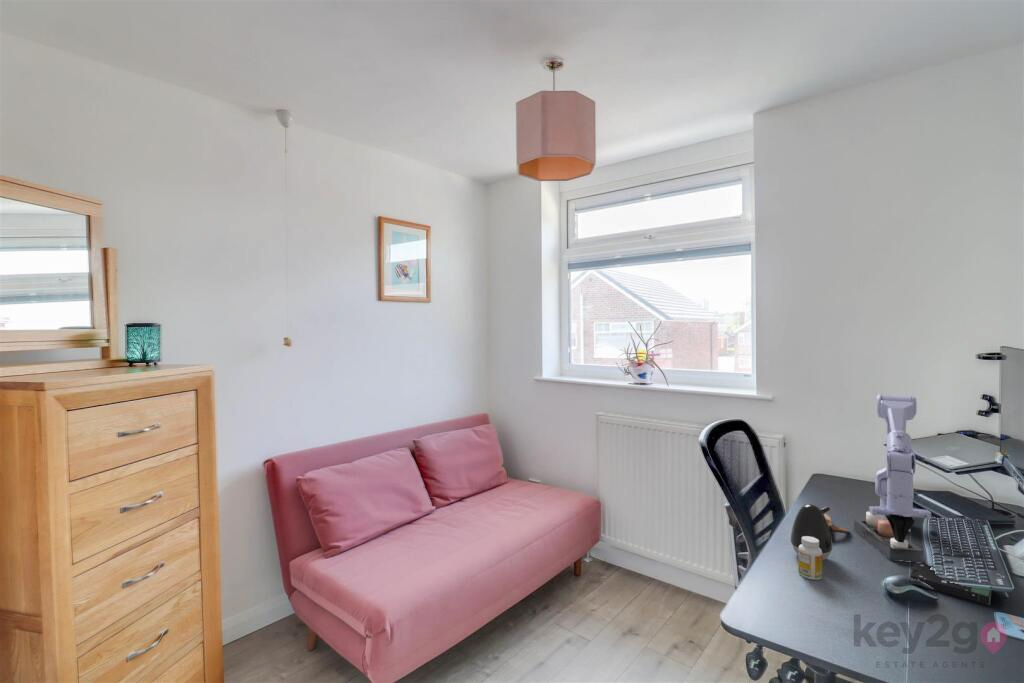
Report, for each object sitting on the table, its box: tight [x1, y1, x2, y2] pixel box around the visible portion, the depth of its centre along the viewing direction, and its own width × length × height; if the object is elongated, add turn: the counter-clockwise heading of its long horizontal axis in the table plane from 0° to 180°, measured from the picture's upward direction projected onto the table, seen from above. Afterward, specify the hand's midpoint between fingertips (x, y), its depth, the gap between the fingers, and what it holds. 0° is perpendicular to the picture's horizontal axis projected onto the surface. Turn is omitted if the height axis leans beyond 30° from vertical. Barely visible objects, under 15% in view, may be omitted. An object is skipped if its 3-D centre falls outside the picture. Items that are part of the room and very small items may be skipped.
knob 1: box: [865, 510, 882, 528], centre depth 153 cm, size 4×4×4 cm
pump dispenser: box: [790, 503, 834, 562], centre depth 139 cm, size 10×10×15 cm
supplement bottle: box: [797, 536, 823, 581], centre depth 129 cm, size 5×5×10 cm
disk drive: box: [910, 562, 992, 606], centre depth 123 cm, size 10×3×15 cm
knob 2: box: [890, 538, 908, 548], centre depth 139 cm, size 4×4×4 cm
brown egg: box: [878, 520, 894, 538], centre depth 146 cm, size 4×4×4 cm
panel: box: [853, 519, 924, 564], centre depth 146 cm, size 21×8×4 cm, turn 168°
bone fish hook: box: [824, 513, 850, 539], centre depth 156 cm, size 9×5×18 cm
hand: (899, 541), depth 139 cm, fingers closed, pressing on knob 2
